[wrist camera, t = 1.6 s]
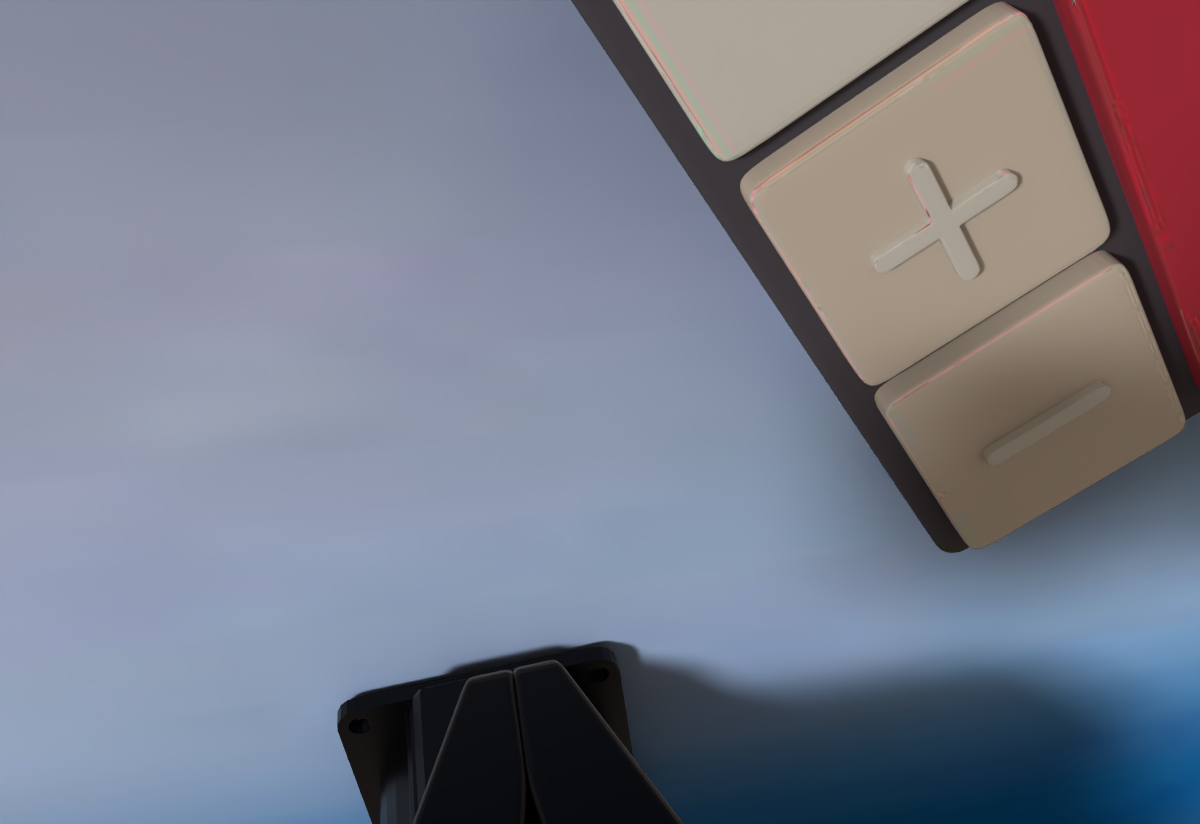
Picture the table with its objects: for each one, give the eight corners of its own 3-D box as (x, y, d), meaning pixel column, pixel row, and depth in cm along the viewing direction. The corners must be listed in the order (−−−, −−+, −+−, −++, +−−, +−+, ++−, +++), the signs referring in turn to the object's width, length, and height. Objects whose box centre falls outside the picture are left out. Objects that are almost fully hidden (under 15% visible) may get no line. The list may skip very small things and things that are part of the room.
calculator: (964, 590, 23) (542, -40, 14) (880, 459, 26) (497, -114, 18) (1494, 282, 21) (1380, -675, 12) (1328, 183, 24) (1146, -620, 16)
